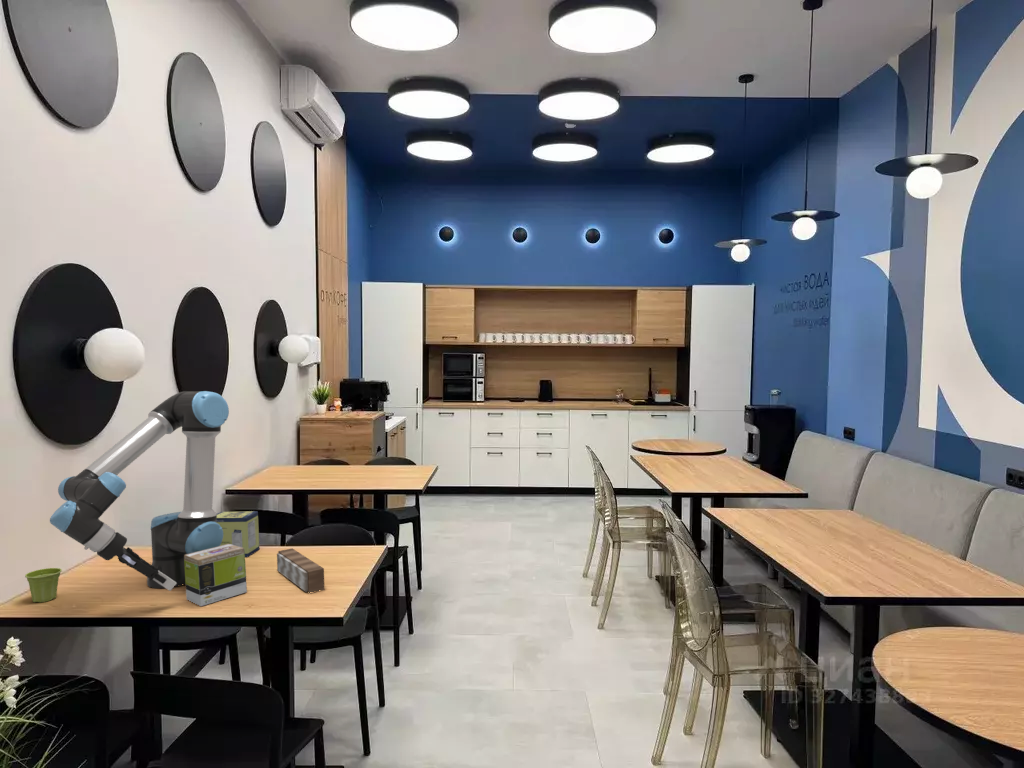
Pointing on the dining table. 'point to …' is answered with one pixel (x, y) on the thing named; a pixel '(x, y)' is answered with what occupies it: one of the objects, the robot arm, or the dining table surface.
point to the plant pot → (43, 584)
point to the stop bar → (300, 570)
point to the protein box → (240, 530)
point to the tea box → (215, 574)
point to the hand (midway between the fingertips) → (172, 586)
